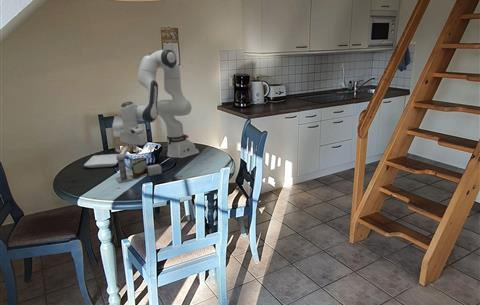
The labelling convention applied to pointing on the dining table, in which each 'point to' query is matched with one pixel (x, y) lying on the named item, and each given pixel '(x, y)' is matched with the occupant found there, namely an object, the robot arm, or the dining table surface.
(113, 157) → the salad plate
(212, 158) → the dining table surface
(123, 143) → the fruit juice
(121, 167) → the rack post
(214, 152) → the dining table surface
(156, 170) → the block
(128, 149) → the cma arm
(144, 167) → the food container
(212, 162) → the dining table surface
